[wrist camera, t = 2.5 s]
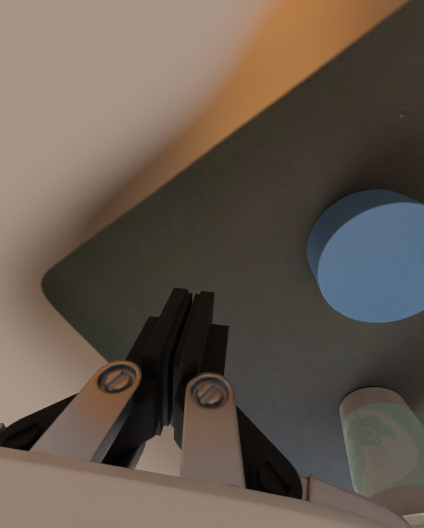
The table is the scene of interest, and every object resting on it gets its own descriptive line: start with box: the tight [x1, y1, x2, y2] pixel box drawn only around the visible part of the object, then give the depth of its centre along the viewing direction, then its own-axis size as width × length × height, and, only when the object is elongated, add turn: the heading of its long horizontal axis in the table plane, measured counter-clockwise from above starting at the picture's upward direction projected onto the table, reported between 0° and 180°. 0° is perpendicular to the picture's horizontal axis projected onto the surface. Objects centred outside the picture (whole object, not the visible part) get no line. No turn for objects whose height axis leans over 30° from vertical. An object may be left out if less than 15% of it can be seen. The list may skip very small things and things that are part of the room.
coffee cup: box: [339, 387, 424, 528], centre depth 21 cm, size 8×8×12 cm
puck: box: [307, 189, 424, 323], centre depth 19 cm, size 8×8×4 cm
